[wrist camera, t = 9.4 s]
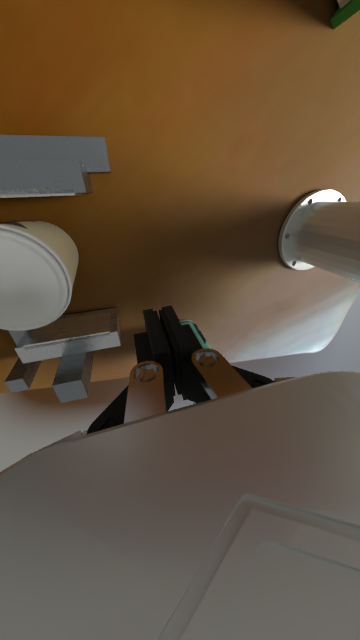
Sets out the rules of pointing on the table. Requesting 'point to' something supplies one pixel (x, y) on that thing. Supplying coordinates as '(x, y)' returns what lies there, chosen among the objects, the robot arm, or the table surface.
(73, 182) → the vise bed
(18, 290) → the lidded cream tub
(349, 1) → the hardback book
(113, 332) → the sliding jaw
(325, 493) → the robot arm
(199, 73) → the table surface
